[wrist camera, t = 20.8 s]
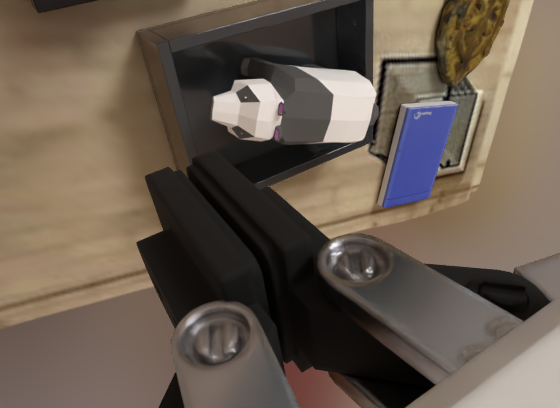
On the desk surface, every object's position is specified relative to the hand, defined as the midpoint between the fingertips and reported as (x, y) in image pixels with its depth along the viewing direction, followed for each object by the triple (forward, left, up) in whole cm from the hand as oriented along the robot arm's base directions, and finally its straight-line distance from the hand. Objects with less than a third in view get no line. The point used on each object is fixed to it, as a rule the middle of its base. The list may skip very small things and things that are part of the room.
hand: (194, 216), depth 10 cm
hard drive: (+33, -22, -25) cm, 47 cm away
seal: (+40, -8, -25) cm, 48 cm away
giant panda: (+14, -8, -24) cm, 29 cm away
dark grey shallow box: (+14, -8, -25) cm, 30 cm away
